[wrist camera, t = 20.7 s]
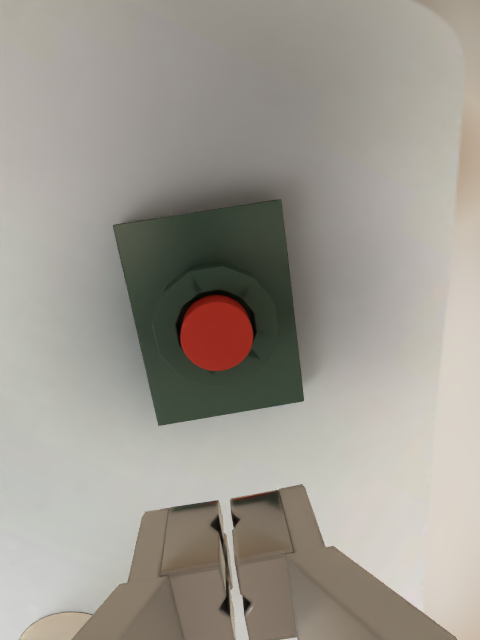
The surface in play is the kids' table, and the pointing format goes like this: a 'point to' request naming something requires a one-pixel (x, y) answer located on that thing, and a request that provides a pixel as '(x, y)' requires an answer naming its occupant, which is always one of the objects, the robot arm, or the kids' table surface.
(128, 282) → the button block
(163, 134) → the kids' table surface
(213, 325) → the red button
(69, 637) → the cup
